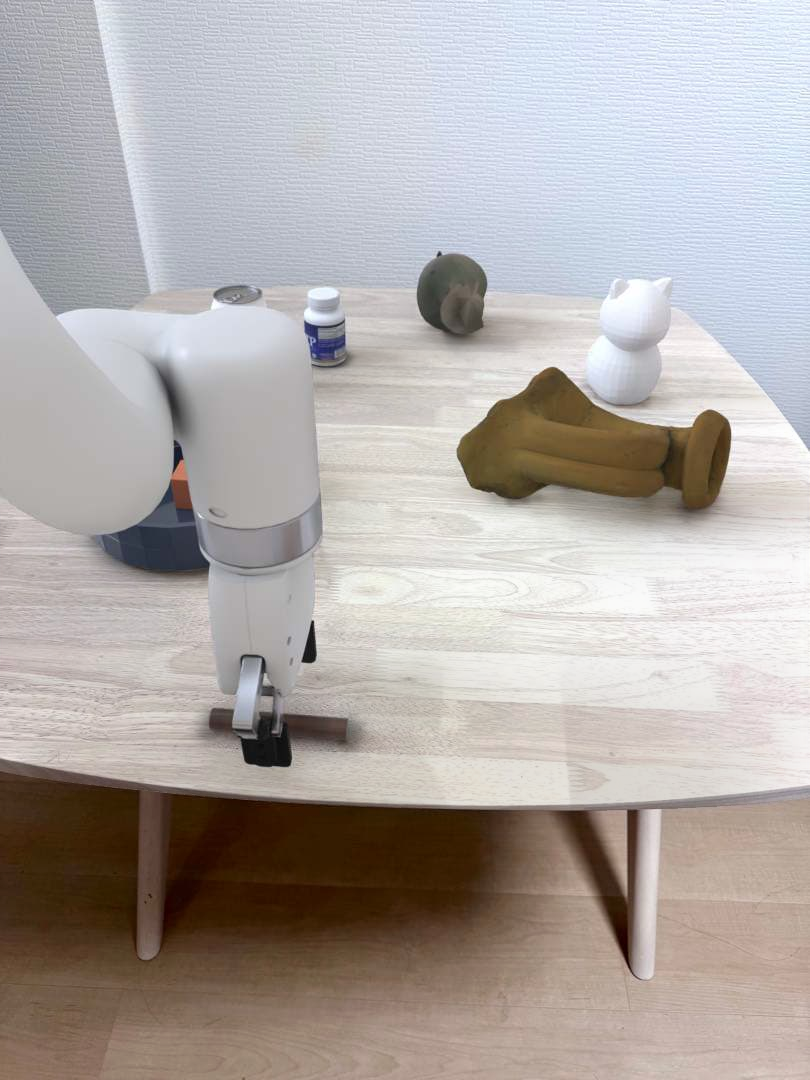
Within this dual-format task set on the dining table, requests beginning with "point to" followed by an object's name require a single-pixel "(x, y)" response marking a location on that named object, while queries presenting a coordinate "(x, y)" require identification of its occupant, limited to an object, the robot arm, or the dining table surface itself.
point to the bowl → (159, 537)
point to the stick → (290, 724)
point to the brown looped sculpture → (591, 448)
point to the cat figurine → (630, 340)
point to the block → (181, 488)
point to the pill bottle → (325, 327)
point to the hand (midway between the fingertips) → (283, 707)
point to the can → (238, 296)
